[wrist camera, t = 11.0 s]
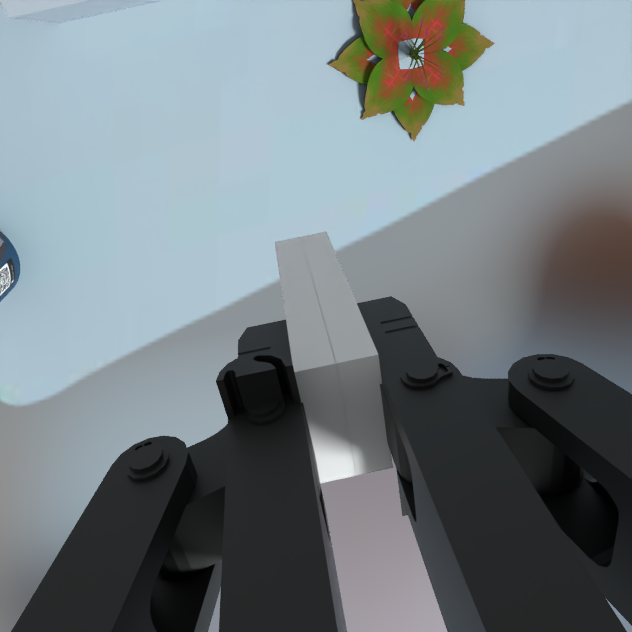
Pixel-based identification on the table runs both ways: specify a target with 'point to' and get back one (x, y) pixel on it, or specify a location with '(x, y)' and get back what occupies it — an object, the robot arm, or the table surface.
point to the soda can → (8, 266)
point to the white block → (64, 8)
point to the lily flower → (429, 80)
